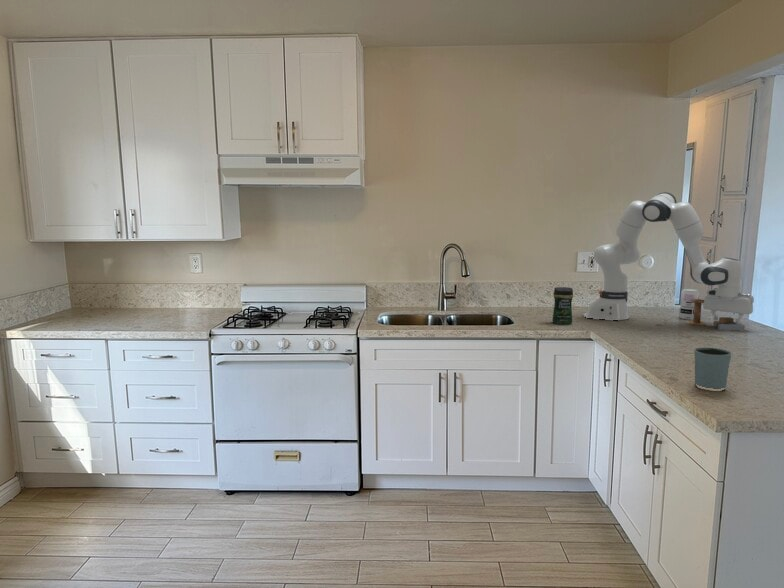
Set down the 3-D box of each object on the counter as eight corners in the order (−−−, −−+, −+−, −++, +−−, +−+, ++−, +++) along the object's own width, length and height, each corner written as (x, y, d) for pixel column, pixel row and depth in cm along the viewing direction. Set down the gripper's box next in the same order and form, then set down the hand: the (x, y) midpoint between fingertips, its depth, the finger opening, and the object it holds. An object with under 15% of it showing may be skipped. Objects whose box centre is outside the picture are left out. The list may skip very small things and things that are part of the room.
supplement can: (693, 317, 282) (694, 288, 280) (700, 320, 274) (702, 291, 272) (676, 317, 283) (678, 288, 281) (683, 320, 275) (685, 291, 273)
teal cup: (694, 390, 170) (697, 353, 168) (689, 381, 179) (691, 345, 177) (731, 393, 166) (734, 356, 164) (724, 383, 175) (727, 348, 174)
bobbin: (690, 325, 263) (691, 301, 261) (687, 322, 269) (688, 298, 268) (706, 325, 261) (708, 301, 259) (703, 322, 267) (704, 299, 265)
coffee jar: (553, 324, 270) (554, 288, 267) (551, 321, 278) (552, 286, 275) (573, 325, 268) (574, 288, 266) (571, 322, 276) (572, 286, 273)
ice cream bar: (714, 328, 255) (715, 318, 254) (711, 327, 258) (712, 317, 257) (732, 328, 253) (733, 318, 253) (730, 327, 256) (730, 317, 256)
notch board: (719, 330, 251) (719, 324, 251) (713, 325, 261) (713, 320, 261) (744, 331, 248) (744, 325, 248) (737, 326, 258) (737, 321, 258)
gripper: (756, 293, 246) (754, 323, 249) (708, 289, 262) (706, 317, 264) (751, 295, 243) (749, 325, 245) (702, 290, 258) (700, 319, 260)
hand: (726, 321), depth 255 cm, fingers open, 8 cm apart
